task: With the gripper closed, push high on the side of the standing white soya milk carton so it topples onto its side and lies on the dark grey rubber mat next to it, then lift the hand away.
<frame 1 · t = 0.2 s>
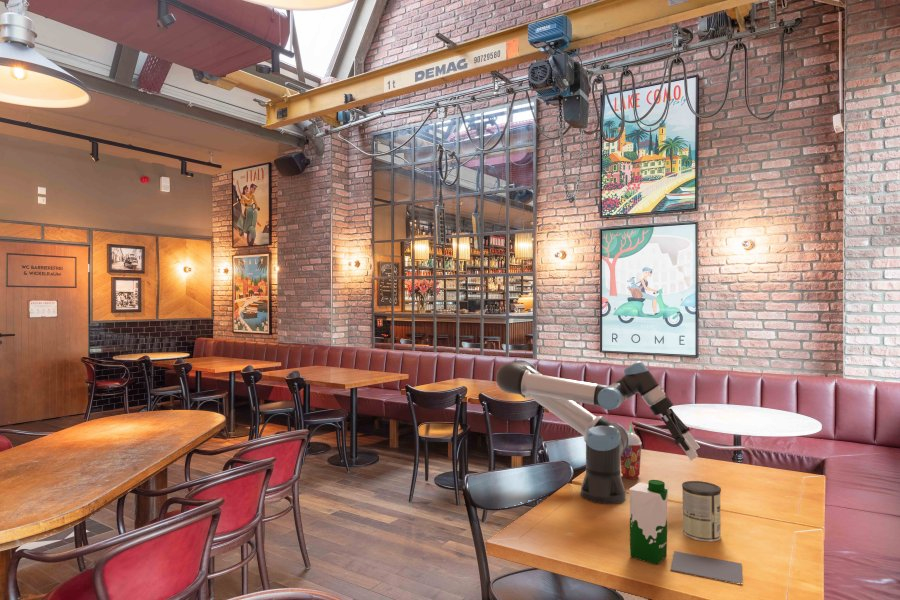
hand: (695, 453, 192), 15 cm above the table, tool tilted 35°, fingers open, 13 cm apart
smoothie: (630, 477, 216), on the table
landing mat: (706, 567, 140), on the table
coffee can: (701, 535, 161), on the table
soya milk: (648, 557, 147), on the table
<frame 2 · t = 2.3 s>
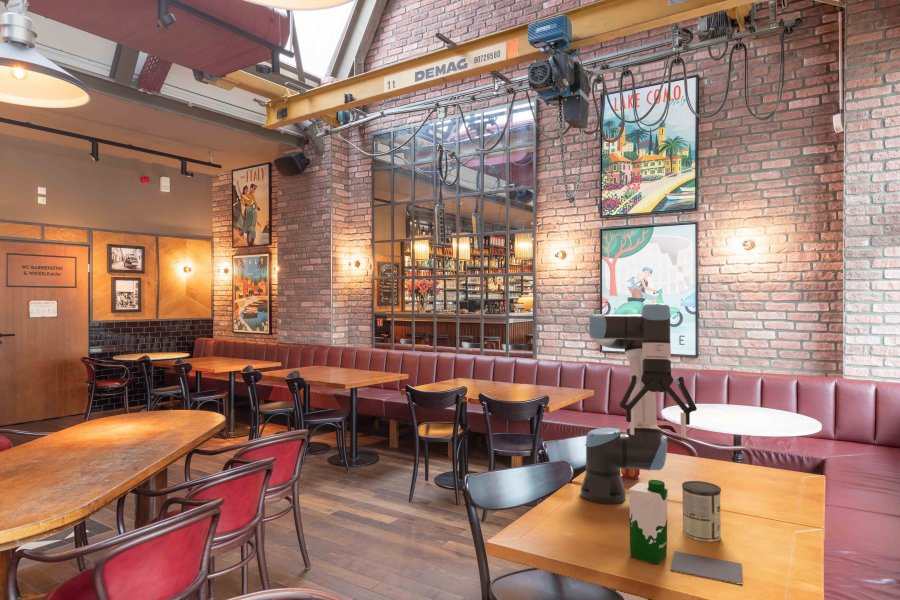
hand: (657, 435, 153), 30 cm above the table, tool pointing down, fingers open, 13 cm apart
nothing on the table moved.
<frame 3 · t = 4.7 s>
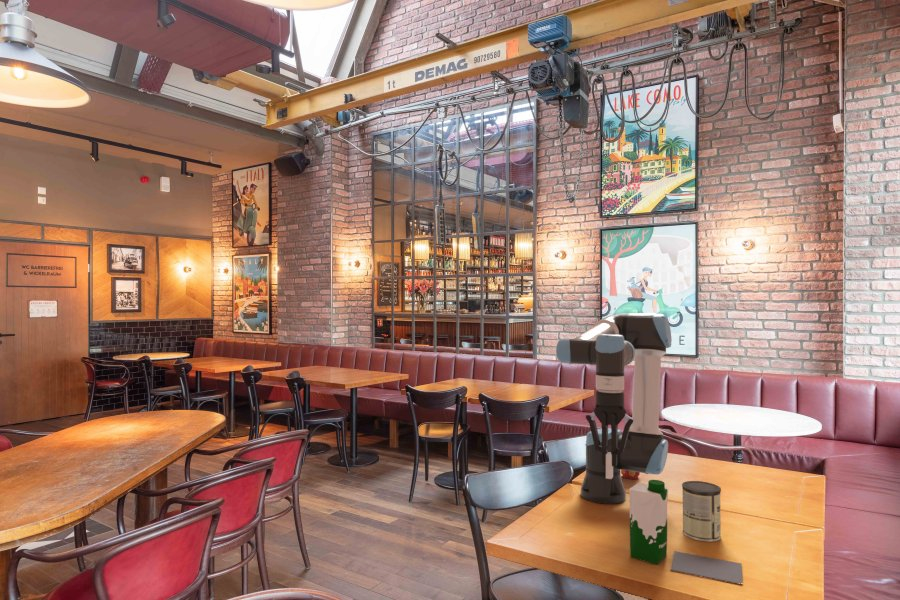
hand: (609, 477, 151), 19 cm above the table, tool pointing down, fingers closed
nothing on the table moved.
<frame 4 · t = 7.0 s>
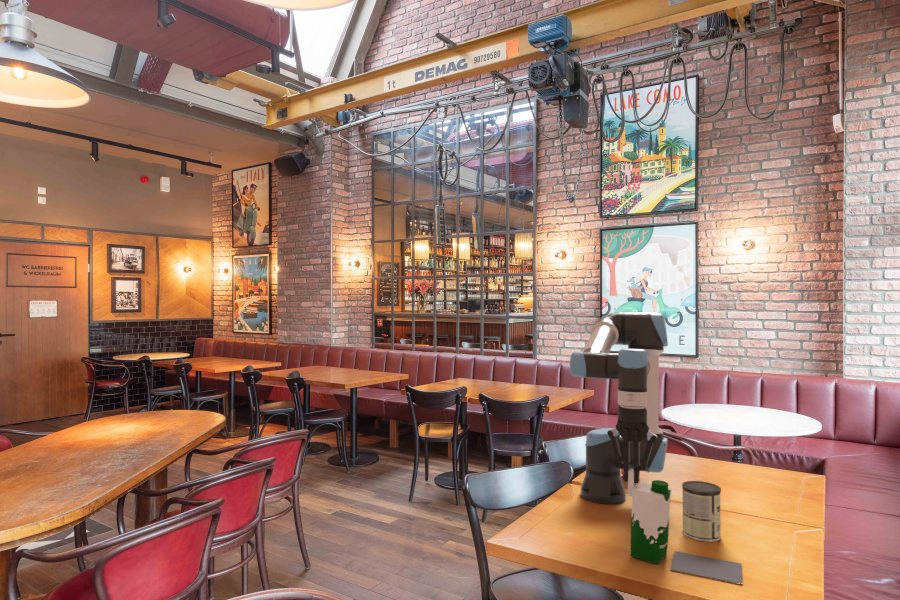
hand: (631, 494, 148), 16 cm above the table, tool pointing down, fingers closed
soya milk: (648, 556, 147), on the table, touching gripper
everything else where it was.
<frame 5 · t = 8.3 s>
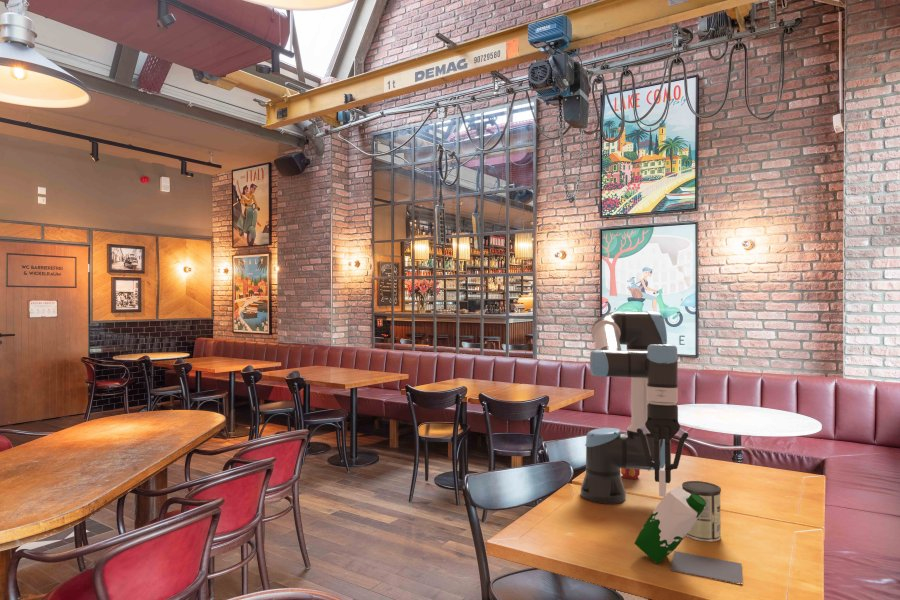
hand: (662, 495, 143), 17 cm above the table, tool pointing down, fingers closed
soya milk: (649, 550, 146), point 2 cm above the table, touching gripper
everything else where it was.
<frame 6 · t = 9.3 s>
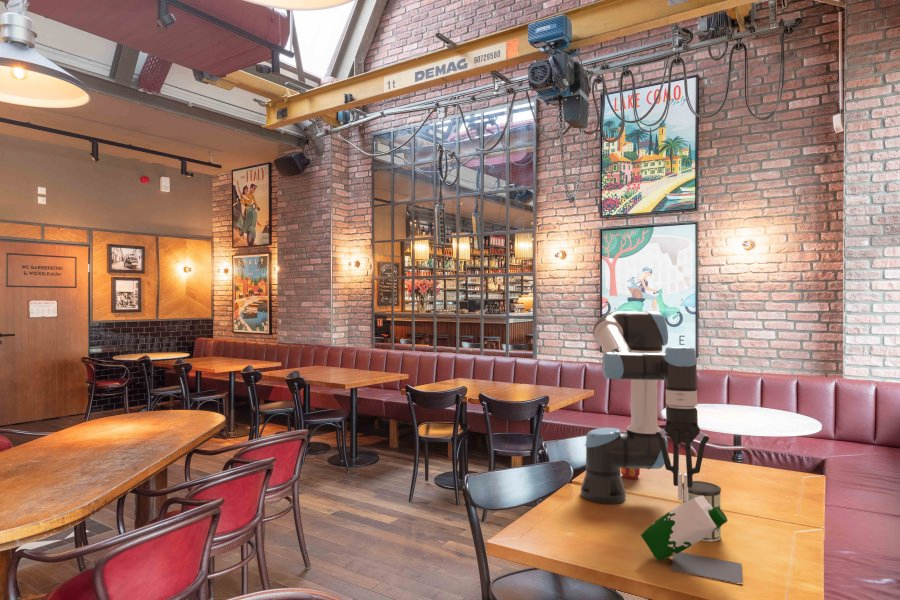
hand: (683, 499, 142), 17 cm above the table, tool pointing down, fingers closed
soya milk: (652, 545, 146), point 3 cm above the table, touching gripper
everything else where it was.
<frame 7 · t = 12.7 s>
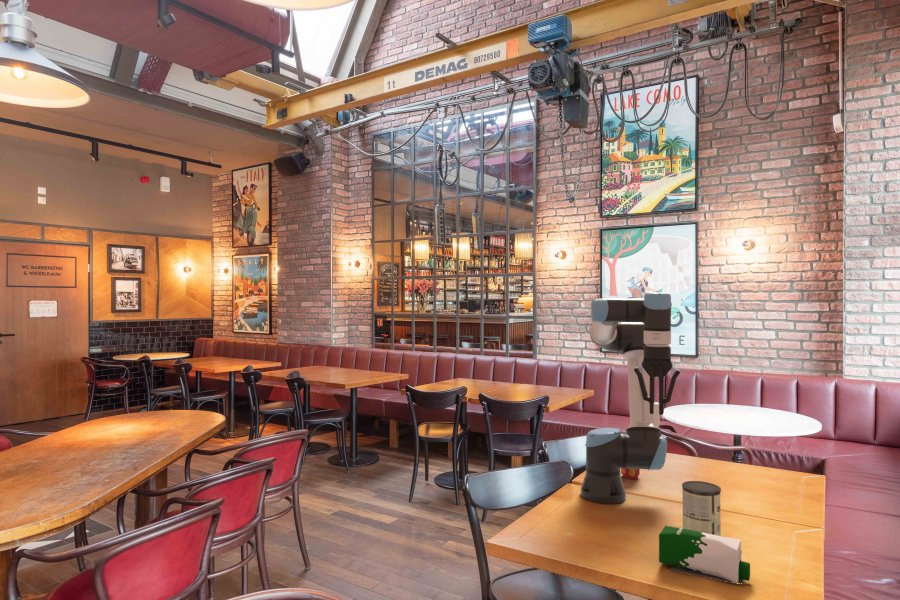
hand: (656, 425, 162), 31 cm above the table, tool pointing down, fingers closed
soya milk: (661, 543, 144), point 5 cm above the table, touching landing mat
everything else where it was.
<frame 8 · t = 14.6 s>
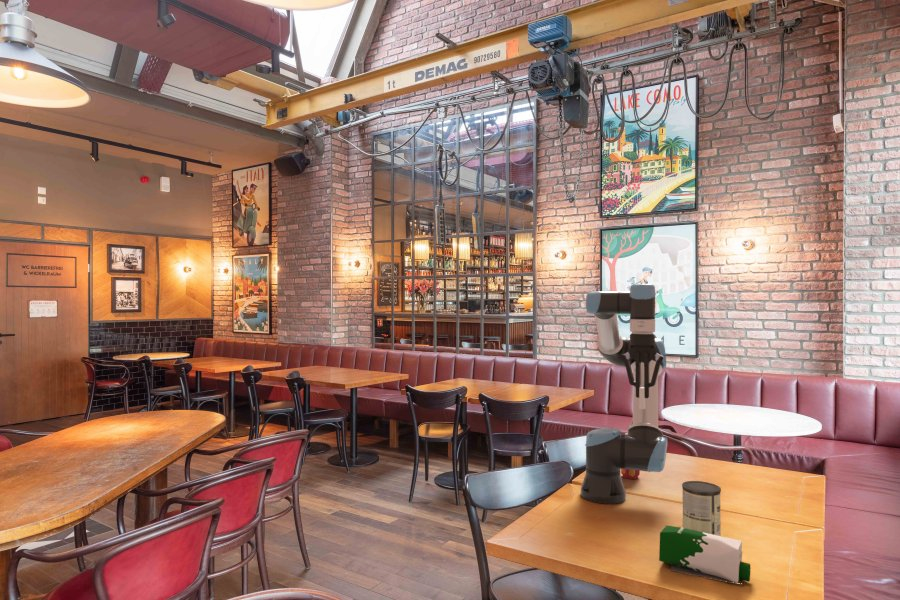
hand: (642, 408, 173), 34 cm above the table, tool pointing down, fingers closed
nothing on the table moved.
at the end: soya milk tilted 91°; soya milk inside the target area (6.1 cm from its centre), point 4.9 cm above the table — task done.
